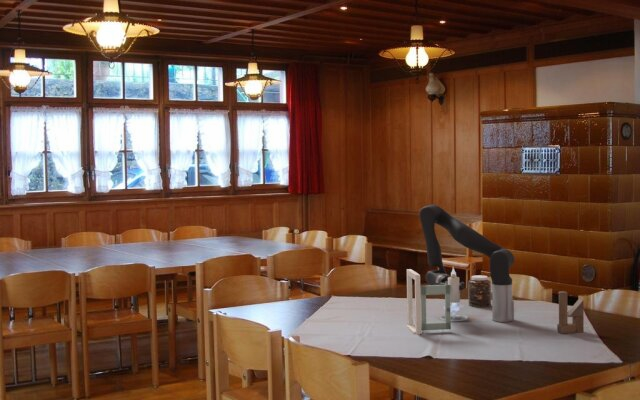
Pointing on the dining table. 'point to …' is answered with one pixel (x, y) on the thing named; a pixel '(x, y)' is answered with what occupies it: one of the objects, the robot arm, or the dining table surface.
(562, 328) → the wooden braced frame
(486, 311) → the dining table surface
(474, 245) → the robot arm
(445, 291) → the grey-green rectangular frame
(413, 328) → the door frame
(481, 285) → the jar
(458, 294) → the white candle
